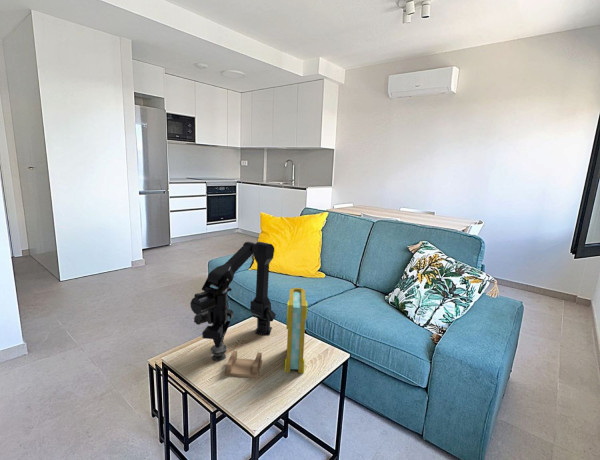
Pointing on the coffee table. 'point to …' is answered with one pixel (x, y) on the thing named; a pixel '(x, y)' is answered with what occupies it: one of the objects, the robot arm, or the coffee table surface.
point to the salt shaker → (219, 352)
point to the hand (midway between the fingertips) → (218, 344)
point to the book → (296, 329)
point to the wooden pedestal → (243, 366)
